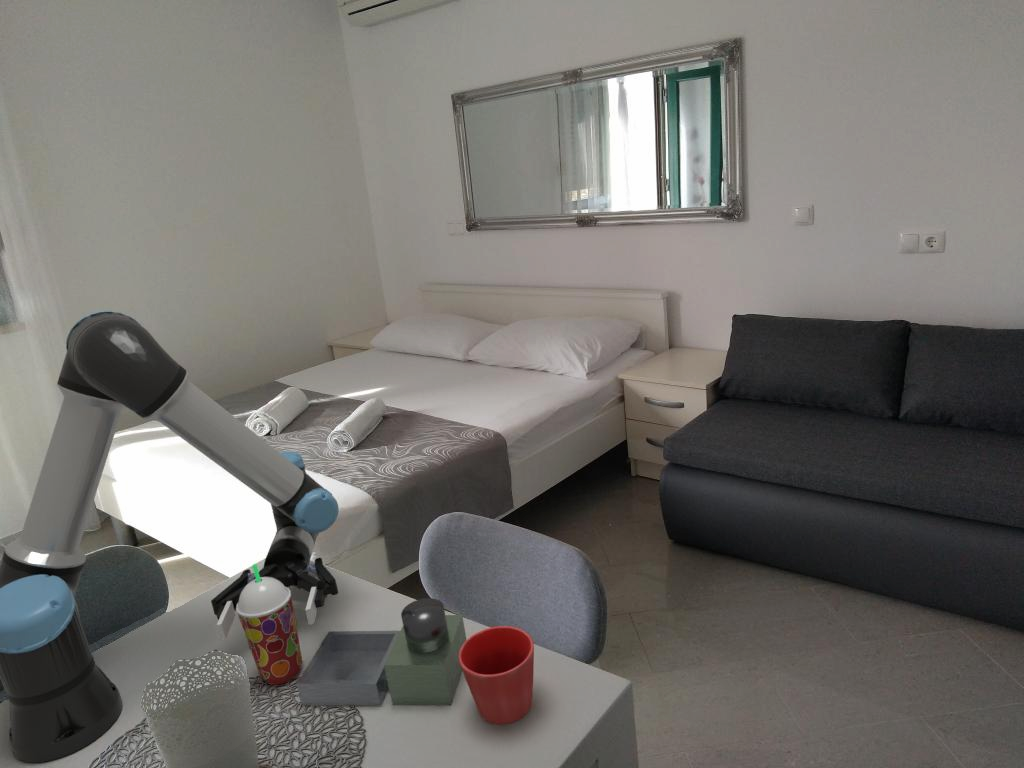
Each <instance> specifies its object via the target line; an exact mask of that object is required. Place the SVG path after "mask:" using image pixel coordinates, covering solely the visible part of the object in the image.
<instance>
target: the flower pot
mask: <svg viewBox="0 0 1024 768" xmlns="http://www.w3.org/2000/svg"><path fill="white" fill-rule="evenodd" d="M534 647H535V646H534V642H533V638H532V637H531V636H530V634H529V633H527V632H526V631H525V630H523V629H521V628H519V627H516V626H515V627H514V626H509V625H508V626H507V625H501V626H500V625H499V626H493V627H489V628H484V629H483V630H480V631H477V632H475V633H474V634H472V635H471V636H470V637H468V638H466V641H465V643H464V644H463V645H462V647H461V649H460V652H459V662H460V666H461V669H462V673H463V674H462V675H463V676H464V678H465V681H466V683H467V686H468V689H469V691H470V694H471V695H472V698H473V700H474V704H475V705H476V708H477V710H478V712H479V715H480V717H482V718H483V720H485V722H488V723H489V724H494V725H501V726H503V725H508V724H512V723H515V722H518V721H521V719H523V717H524V716H525V715H527V714H528V713H529V711H530V710H531V707H532V704H533V694H534V692H533V691H534V671H535V670H534V666H535V665H534V663H535V661H534V660H535V653H534V652H535V651H534V650H535V648H534Z"/></svg>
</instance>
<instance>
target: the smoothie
mask: <svg viewBox="0 0 1024 768" xmlns="http://www.w3.org/2000/svg"><path fill="white" fill-rule="evenodd" d="M252 569H253V573H254V574H255V577H256V579H254V580H252V581H251V582H249V583H248V584H247V585H246V586H245V587H244V589H243V590H242V592H241V594H240V597H239V602H238V604H237V605H236V611H235V612H236V613H237V614H238V615H237V616H238V618H239V622H240V624H241V626H242V630H243V632H244V636H245V637H246V640H247V643H248V646H249V649H250V652H251V655H252V657H253V658H252V659H253V660H254V663H255V666H256V669H257V671H258V674H259V676H260V678H261V679H263V680H264V681H265V682H266V683H267V682H268V683H267V684H269V683H270V685H281V684H284V683H288V681H291V680H293V679H294V678H296V676H297V675H298V674H299V672H301V671H300V670H301V666H302V663H303V658H302V651H301V650H302V649H301V645H300V640H299V634H298V628H297V622H296V617H295V610H294V606H293V599H292V591H291V590H290V587H285V586H284V584H283V583H282V582H280V581H279V580H277V579H275V578H272V577H260V576H259V569H258V565H257V564H256V563H254V564H252Z"/></svg>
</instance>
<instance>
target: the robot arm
mask: <svg viewBox="0 0 1024 768" xmlns="http://www.w3.org/2000/svg"><path fill="white" fill-rule="evenodd" d="M65 345H66V347H65V348H66V354H65V357H64V360H63V363H62V365H61V368H60V373H59V376H58V379H57V381H56V386H57V388H58V389H59V391H60V392H61V394H62V395H63V399H62V403H61V405H60V410H59V413H58V416H57V419H56V422H55V425H54V429H53V432H52V434H51V438H50V441H49V444H48V448H47V450H46V454H45V458H44V461H43V464H42V466H41V470H40V472H39V473H40V474H39V476H38V479H37V482H36V485H35V489H34V492H33V495H32V498H31V502H30V504H29V505H30V506H29V508H28V511H27V515H26V518H25V521H24V523H23V527H22V530H21V534H20V535H19V538H16V539H15V540H13V541H12V542H9V543H8V544H6V546H5V549H4V551H3V554H2V558H1V561H0V681H1V683H2V686H3V688H4V691H5V693H6V697H7V699H8V702H9V721H10V728H9V732H8V741H9V744H10V745H9V746H10V747H11V750H12V752H13V754H14V756H15V758H17V759H18V760H20V761H23V762H26V763H42V762H43V763H44V762H49V761H53V760H57V759H60V758H62V757H66V756H68V755H70V754H73V753H75V752H77V751H79V750H80V749H83V748H85V747H86V746H89V744H91V743H93V742H94V741H96V740H97V739H98V738H100V737H101V736H102V735H104V734H105V733H106V732H107V731H108V730H109V729H110V728H111V727H112V726H113V725H114V724H115V722H116V721H117V720H118V718H119V717H120V715H121V714H122V713H121V712H122V710H123V699H122V696H121V694H120V690H119V689H118V687H117V686H116V685H115V683H114V682H112V681H111V679H110V678H109V677H108V676H107V674H105V672H103V670H102V669H101V668H100V667H99V666H98V665H97V664H96V662H95V661H96V660H95V657H94V656H93V655H94V654H93V653H92V650H91V647H90V644H89V641H88V638H87V636H86V635H87V634H86V633H85V629H84V627H83V623H82V620H81V617H80V612H79V609H78V608H79V607H78V602H77V598H76V593H77V589H78V585H79V582H80V579H81V576H82V572H83V570H84V565H85V562H86V561H87V560H86V559H87V556H86V553H85V552H84V551H83V550H82V548H81V547H80V545H81V542H82V539H83V535H84V532H85V529H86V526H87V523H88V520H89V517H90V513H91V510H92V506H93V504H94V500H95V497H96V494H97V491H98V488H99V485H100V483H101V479H102V475H103V472H104V468H105V466H106V463H107V459H108V456H109V453H110V451H111V447H112V444H113V443H112V442H113V440H114V438H115V434H116V431H117V429H118V424H119V421H120V418H121V415H122V412H123V410H125V409H126V408H128V409H129V410H131V411H132V412H133V413H135V414H136V415H138V416H139V417H140V418H141V419H145V420H148V419H155V420H156V421H158V422H159V423H160V424H162V425H164V427H166V428H167V429H169V430H170V431H171V432H173V433H174V434H176V435H177V436H178V437H179V438H180V439H183V440H184V441H185V442H187V443H188V444H189V445H190V446H192V447H193V448H195V449H196V450H197V451H198V452H200V453H202V454H203V455H204V456H206V457H207V458H208V459H209V460H211V461H212V462H214V463H215V464H216V465H218V466H219V467H221V468H222V469H223V470H225V471H226V472H227V473H228V474H230V475H231V476H233V477H234V478H236V479H237V480H238V481H239V482H240V483H242V484H244V485H245V486H246V487H248V488H249V489H251V490H252V491H253V492H254V493H256V494H257V495H259V496H260V497H261V498H262V499H264V500H265V501H267V502H268V503H269V504H270V506H271V510H272V514H273V519H274V523H275V527H276V532H275V535H274V537H273V539H272V542H271V543H270V544H271V545H270V546H269V549H268V552H267V555H266V556H265V559H264V563H263V567H262V568H261V569H260V570H258V572H259V576H260V577H272V578H275V579H277V580H279V581H280V582H282V583H283V584H284V586H285V587H287V588H291V587H295V588H297V589H298V590H301V589H302V590H304V591H305V592H307V593H309V595H308V599H307V603H306V607H305V613H306V618H307V622H308V625H309V626H311V625H314V624H315V621H316V616H317V612H318V609H320V608H323V606H324V605H325V601H326V598H327V597H328V596H329V595H331V596H336V595H338V594H339V589H338V584H337V581H336V580H337V579H336V578H334V576H333V575H332V573H330V571H329V570H328V569H327V568H326V566H325V565H324V561H323V558H322V557H317V558H315V559H314V562H311V559H312V555H313V551H314V548H315V545H316V541H317V539H318V536H319V535H320V533H323V532H325V531H326V530H328V529H330V528H331V527H332V526H333V525H334V523H335V522H336V521H337V518H338V516H339V503H338V501H337V500H336V498H335V496H334V495H333V494H332V492H330V491H329V490H328V489H326V488H325V487H323V486H322V485H321V484H319V483H318V482H317V481H316V480H315V479H314V478H313V477H311V476H310V475H309V474H308V473H307V472H306V464H305V463H304V460H303V457H302V455H301V453H299V452H298V451H283V452H282V451H281V452H279V451H278V450H277V449H275V448H274V447H273V446H272V445H270V444H269V443H268V442H267V441H266V440H264V439H263V438H261V437H260V436H259V435H258V434H257V433H255V432H254V431H253V430H252V429H250V427H248V426H246V425H245V424H244V423H243V422H242V421H240V420H239V419H238V418H237V417H235V416H234V415H232V414H231V413H230V412H229V410H228V411H227V410H226V408H224V407H223V406H222V405H220V404H219V403H218V402H216V401H215V400H214V399H212V398H211V397H210V396H209V395H207V394H206V393H205V392H203V391H202V390H201V389H200V388H198V387H197V386H196V385H195V384H193V382H191V381H190V379H189V372H188V370H187V369H185V368H184V367H183V366H182V365H180V364H179V363H178V361H176V360H175V359H174V358H173V357H172V356H170V354H168V352H167V351H166V350H165V349H164V348H163V347H162V345H161V344H159V342H158V341H157V340H156V338H154V337H153V335H152V333H150V332H149V330H147V329H146V328H145V327H144V326H142V324H141V323H139V322H138V321H137V320H136V319H134V318H133V317H132V316H129V315H126V314H125V313H122V312H116V311H112V310H110V311H107V310H105V311H97V312H93V313H90V314H88V315H86V316H83V317H82V318H80V319H79V320H78V321H76V323H75V324H74V325H73V326H72V327H71V329H70V330H69V333H68V335H67V338H66V342H65ZM310 562H311V563H310ZM309 573H311V574H314V577H313V576H312V575H310V574H309ZM316 577H317V578H316ZM254 579H256V577H255V574H254V572H251V570H250V569H245V570H243V572H242V573H241V574H240V576H239V577H237V579H235V580H234V581H233V582H232V583H230V584H229V585H228V586H227V587H226V588H224V590H222V591H220V592H219V593H218V594H217V595H215V597H213V598H212V599H211V600H210V602H211V606H212V611H213V613H214V615H215V616H216V619H217V622H216V628H217V633H218V635H219V639H220V641H222V640H226V639H227V636H228V634H229V632H230V629H231V628H232V627H231V626H232V624H233V622H234V620H235V618H236V612H237V611H236V605H237V604H238V602H239V597H240V594H241V592H242V590H243V589H244V587H245V586H246V585H247V584H248V583H249V582H251V581H252V580H254Z"/></svg>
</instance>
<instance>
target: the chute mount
mask: <svg viewBox="0 0 1024 768" xmlns="http://www.w3.org/2000/svg"><path fill="white" fill-rule="evenodd" d="M400 615H401V617H400V618H401V620H402V627H401V629H400V630H351V631H350V630H344V631H341V630H339V631H337V630H336V631H335V630H333V631H328V632H327V634H326V636H325V637H324V639H323V641H322V642H321V644H320V645H319V646H318V648H317V650H316V652H315V653H314V655H313V657H311V660H310V661H309V663H308V664H307V666H306V668H305V669H304V671H303V673H302V674H301V676H300V678H298V681H297V682H296V686H297V690H298V696H299V698H300V699H299V700H300V702H301V706H302V705H320V706H319V707H321V705H323V706H324V707H325V706H326V707H327V706H328V707H382V705H383V702H384V701H385V698H386V696H387V694H388V692H389V694H390V699H391V703H392V706H452V704H453V700H454V698H455V695H456V692H457V689H458V686H459V683H460V680H461V676H462V675H463V674H462V673H463V671H462V669H461V666H460V662H459V652H460V649H461V647H462V645H463V644H464V643H465V641H466V640H467V635H466V629H465V623H464V617H463V614H446V610H445V605H444V603H443V602H442V601H440V600H439V599H436V598H431V597H428V598H427V597H425V598H420V599H417V600H414V601H411V602H410V603H408V604H407V605H405V607H404V608H403V609H402V610H401V614H400ZM323 706H322V707H323Z"/></svg>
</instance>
